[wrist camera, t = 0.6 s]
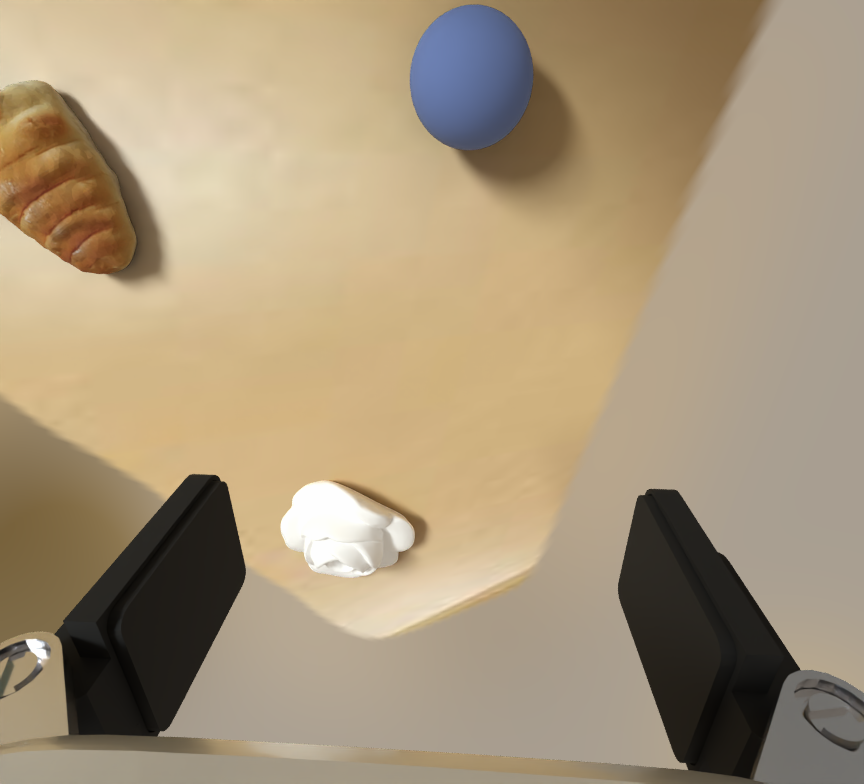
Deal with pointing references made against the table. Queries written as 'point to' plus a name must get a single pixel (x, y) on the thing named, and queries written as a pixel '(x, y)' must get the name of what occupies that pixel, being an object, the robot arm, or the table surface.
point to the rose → (344, 530)
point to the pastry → (60, 182)
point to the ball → (471, 77)
